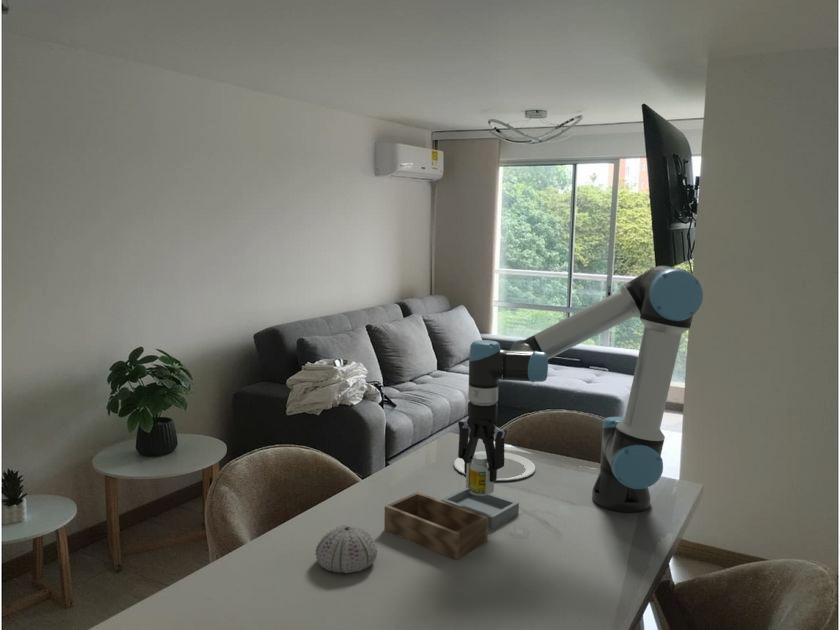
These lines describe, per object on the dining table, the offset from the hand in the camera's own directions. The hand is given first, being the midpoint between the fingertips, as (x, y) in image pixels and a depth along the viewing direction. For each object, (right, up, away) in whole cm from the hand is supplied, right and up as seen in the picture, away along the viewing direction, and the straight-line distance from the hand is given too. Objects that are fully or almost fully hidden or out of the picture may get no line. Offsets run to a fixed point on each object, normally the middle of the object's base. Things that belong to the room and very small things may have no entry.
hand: (479, 489), depth 174 cm
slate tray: (0, -6, +1) cm, 6 cm away
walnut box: (-12, -8, -13) cm, 19 cm away
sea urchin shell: (-31, -10, -26) cm, 42 cm away
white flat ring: (+8, -2, +34) cm, 35 cm away
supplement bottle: (0, -1, 0) cm, 1 cm away
